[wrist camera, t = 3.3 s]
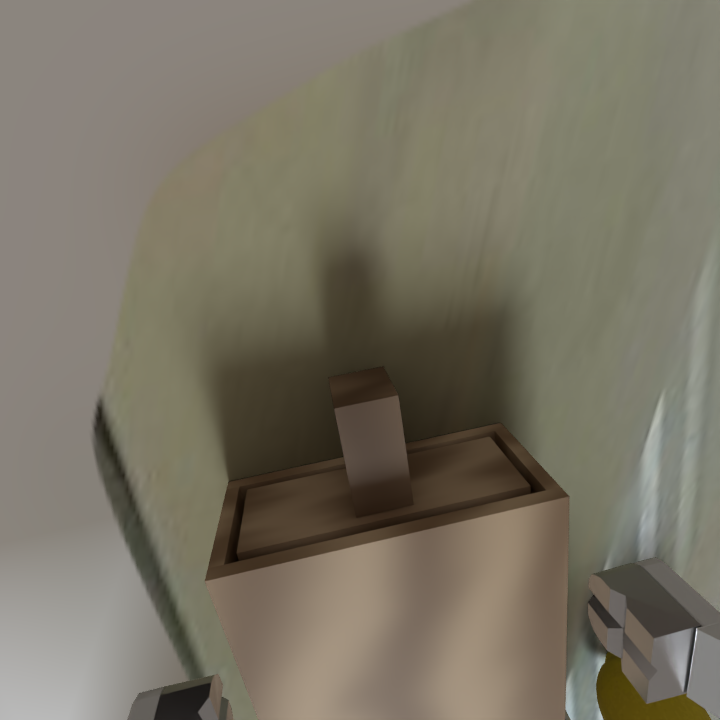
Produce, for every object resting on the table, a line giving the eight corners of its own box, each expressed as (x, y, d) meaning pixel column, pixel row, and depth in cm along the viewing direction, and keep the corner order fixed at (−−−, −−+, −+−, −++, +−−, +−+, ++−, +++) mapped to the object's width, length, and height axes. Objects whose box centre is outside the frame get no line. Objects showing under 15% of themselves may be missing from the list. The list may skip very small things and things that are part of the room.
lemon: (588, 622, 29) (691, 770, 21) (659, 623, 30) (780, 764, 22) (560, 681, 30) (646, 836, 23) (628, 680, 32) (731, 828, 24)
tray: (484, 340, 20) (528, 373, 16) (500, 621, 26) (534, 690, 22) (217, 394, 19) (198, 442, 15) (303, 671, 25) (304, 752, 22)
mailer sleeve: (500, 422, 22) (569, 496, 17) (510, 615, 27) (564, 722, 22) (228, 481, 21) (204, 581, 16) (290, 671, 26) (288, 797, 21)
